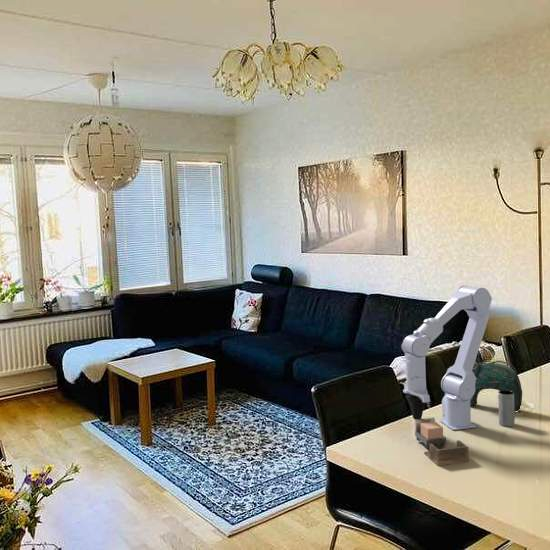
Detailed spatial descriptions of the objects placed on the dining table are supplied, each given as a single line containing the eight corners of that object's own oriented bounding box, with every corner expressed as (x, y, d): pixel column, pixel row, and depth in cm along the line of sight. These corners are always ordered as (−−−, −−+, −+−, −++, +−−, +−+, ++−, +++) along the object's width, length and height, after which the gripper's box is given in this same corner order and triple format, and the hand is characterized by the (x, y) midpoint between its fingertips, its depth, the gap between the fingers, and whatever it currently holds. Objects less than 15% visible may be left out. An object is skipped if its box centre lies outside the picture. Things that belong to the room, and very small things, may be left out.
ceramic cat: (459, 406, 202) (457, 349, 200) (464, 401, 208) (463, 345, 206) (520, 414, 191) (519, 354, 189) (524, 408, 196) (523, 350, 195)
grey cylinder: (514, 422, 184) (514, 390, 183) (514, 427, 180) (513, 394, 179) (499, 421, 186) (498, 389, 185) (498, 426, 182) (497, 393, 181)
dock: (424, 453, 164) (423, 439, 164) (454, 449, 166) (453, 435, 165) (437, 465, 156) (437, 450, 155) (468, 461, 157) (468, 446, 157)
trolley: (415, 439, 174) (414, 419, 173) (434, 437, 175) (433, 417, 174) (426, 449, 166) (426, 428, 165) (446, 447, 167) (445, 426, 166)
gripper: (394, 370, 184) (395, 412, 185) (413, 382, 170) (414, 428, 171) (415, 368, 185) (416, 410, 186) (435, 380, 171) (437, 425, 172)
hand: (417, 418), depth 179 cm, fingers closed
